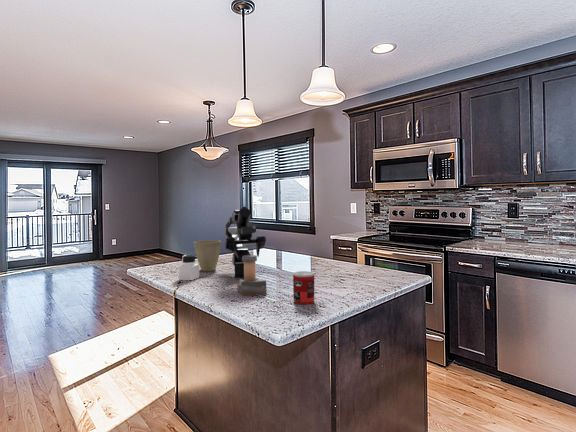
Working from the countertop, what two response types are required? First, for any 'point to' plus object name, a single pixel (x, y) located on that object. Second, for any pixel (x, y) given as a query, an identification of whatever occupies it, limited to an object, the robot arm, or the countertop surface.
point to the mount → (252, 287)
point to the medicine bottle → (188, 268)
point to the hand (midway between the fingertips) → (248, 257)
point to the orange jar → (249, 267)
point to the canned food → (303, 287)
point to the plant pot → (207, 253)
